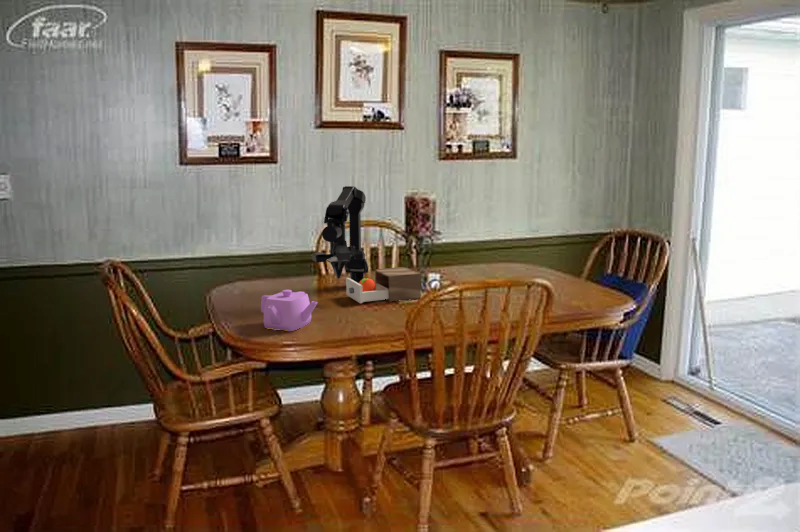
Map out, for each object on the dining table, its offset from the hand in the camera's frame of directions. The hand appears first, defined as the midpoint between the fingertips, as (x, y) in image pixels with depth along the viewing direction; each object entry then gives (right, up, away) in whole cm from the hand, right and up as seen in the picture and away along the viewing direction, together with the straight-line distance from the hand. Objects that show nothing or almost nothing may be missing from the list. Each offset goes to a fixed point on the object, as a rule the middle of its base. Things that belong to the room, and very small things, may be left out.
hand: (338, 278), depth 273 cm
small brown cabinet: (+22, -7, +11) cm, 26 cm away
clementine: (+10, -7, +6) cm, 14 cm away
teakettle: (-14, -16, -30) cm, 36 cm away
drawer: (+11, -8, +6) cm, 14 cm away
